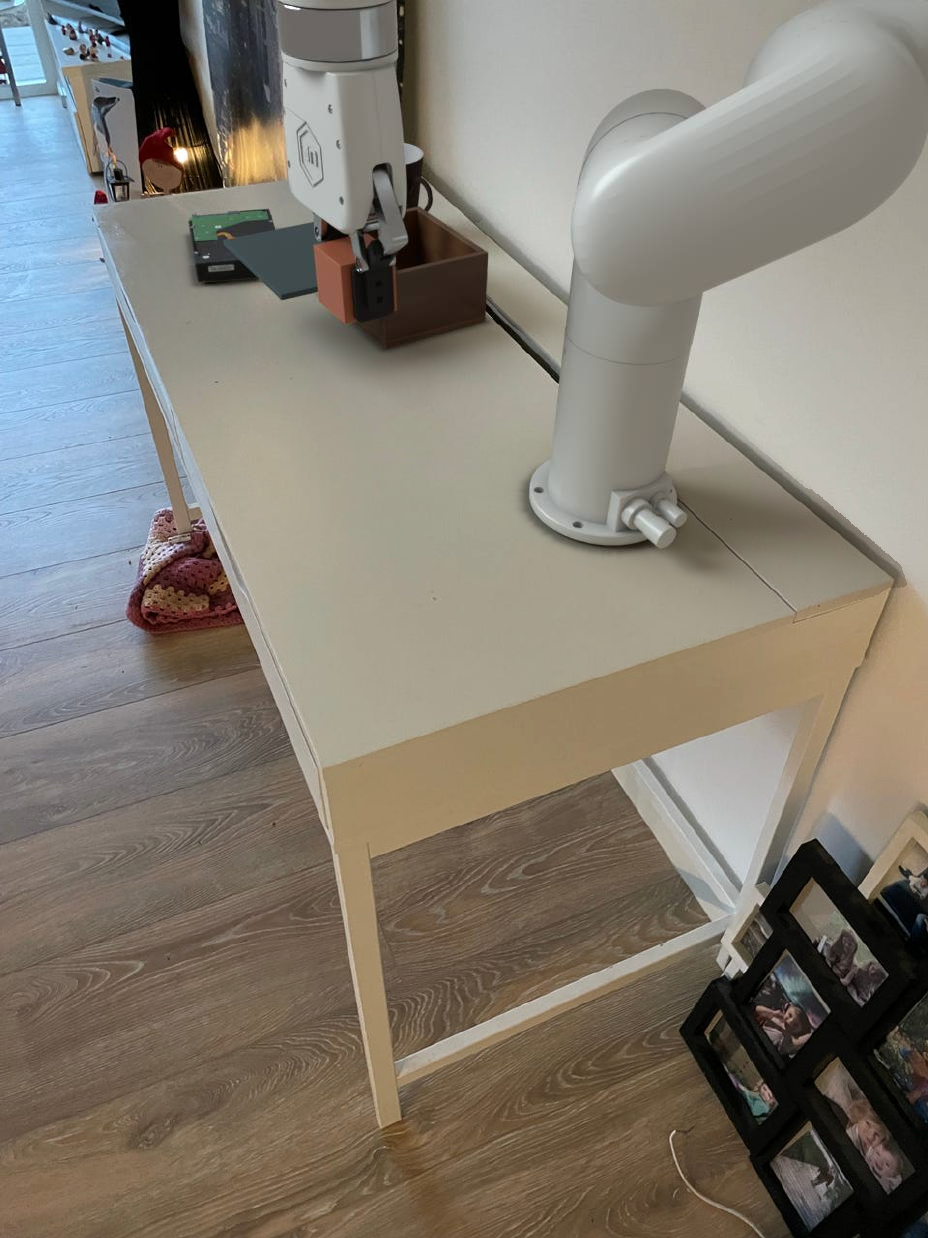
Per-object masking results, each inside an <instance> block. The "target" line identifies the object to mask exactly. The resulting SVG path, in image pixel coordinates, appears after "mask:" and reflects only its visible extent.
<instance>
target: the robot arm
mask: <svg viewBox="0 0 928 1238" xmlns="http://www.w3.org/2000/svg"><path fill="white" fill-rule="evenodd" d="M275 8H276V18H277V26H278V27H277V28H278V37H279V46H280V53H281V60H282V107H283V126H284V127H283V128H284V141H285V154H286V165H287V177H288V184H289V189H290V192H291V194H292V195H293V197H294V198H295V199H296V200H297V201H298V202H299V203H301V204H302V205H303V206H304V207H306V208H307V209H309V210H310V211H311V212H312V214H313V222H314V234H315V237H316V239H317V240H318V241H319V242H320V241H323V242H322V243H324V242H328V241H333V240H337V239H341V238H346V237H350V238H351V244H352V249H353V255H354V261H355V266H356V268H353V269H350V272H351V285H352V298H353V311H354V318H355V319H356V320H357V321H358V322H359V323H363V322H367V321H370V320H374V319H377V318H381V317H385V316H388V315H391V314H393V312H394V309H395V308H394V285H393V265H395V263H396V255H397V253H398V251H399V250H400V249H401V248H403V247H404V246H405V245H406V244H407V243H408V236H407V232H406V229H405V226H404V223H403V220H402V219H403V218H404V215H405V211H406V163H405V149H404V143H405V140H404V139H405V138H404V126H403V117H402V109H401V102H400V101H401V100H400V92H399V85H398V80H397V73H396V66H395V65H396V64H394V62H396V61H397V60H398V58H399V47H398V46H399V44H398V43H399V41H398V15H397V13H398V11H397V0H275ZM927 137H928V0H825V1H823V2H821V3H819V4H817V5H815V6H813V7H811V8H809V9H806V10H804V11H803V12H801V13H798V14H797V15H795V16H794V17H792V18H791V19H789V20H787V21H785V22H784V23H783V24H781V25H779V26H778V27H777V28H776V29H775V30H774V31H773V32H772V33H770V34H769V36H767V38H765V40H763V42H762V43H761V44H760V45H759V47H758V48H757V50H756V52H755V53H754V55H753V56H752V58H751V59H750V62H749V64H748V66H747V69H746V72H745V75H744V78H743V83H742V88H741V89H740V90H738V91H736V92H734V93H733V94H731V95H729V96H727V97H725V98H724V99H722V100H720V101H718V102H716V103H714V104H713V105H711V106H709V107H706V106H705V105H704V104H703V103H702V102H700V101H699V100H698V99H697V98H695V97H693V96H692V95H689V94H688V93H685V92H682V91H679V90H675V89H670V88H653V89H648V90H647V89H646V90H643V91H641V92H638V93H635V94H633V95H630V96H629V97H627V98H625V99H623V100H622V101H621V102H619V103H618V104H617V105H616V106H615V107H613V108H612V109H611V110H610V111H609V112H608V113H607V114H606V115H605V116H604V117H603V119H602V120H601V121H600V123H599V124H598V126H597V127H596V129H595V131H594V132H593V133H592V136H591V138H590V140H589V142H588V145H587V147H586V150H585V153H584V155H583V156H584V157H583V160H582V164H581V168H580V172H579V176H578V182H577V187H576V192H575V197H574V201H573V205H572V209H571V210H572V211H571V218H570V242H571V248H572V252H573V260H572V269H571V275H570V276H571V277H570V285H569V294H568V301H567V302H568V303H567V312H566V319H565V320H566V321H565V326H564V335H563V343H562V344H563V346H562V352H561V361H560V370H559V380H558V390H557V396H556V397H557V399H556V408H555V416H554V425H553V434H552V435H553V436H552V443H551V452H550V453H551V454H550V458H549V459H547V460H546V461H544V462H543V463H542V464H540V465H539V466H538V467H537V469H536V470H534V472H533V474H532V476H531V479H530V482H529V491H528V498H529V499H528V500H529V503H530V506H531V508H532V510H533V512H534V514H535V515H536V516H537V517H538V519H540V520H541V521H542V522H543V523H544V524H545V525H546V526H548V527H549V528H550V529H552V530H553V531H555V532H557V533H559V534H561V535H563V536H566V537H567V538H570V539H572V540H575V541H579V542H583V543H585V544H586V543H587V544H591V545H599V546H624V545H632V544H637V543H641V542H645V541H647V540H649V542H651V543H652V544H653V545H654V546H656V547H657V548H658V549H660V550H661V549H666V548H667V547H669V546H670V545H671V544H672V543H673V541H674V540H675V538H676V536H677V530H676V529H677V528H680V527H682V526H683V525H685V523H686V522H687V519H688V514H687V513H686V512H685V511H684V510H682V509H681V508H680V507H679V506H678V496H677V491H676V489H675V486H674V484H673V481H674V477H673V476H672V475H670V474H669V473H668V472H667V471H666V468H667V464H668V463H667V462H668V458H669V453H670V448H671V443H672V439H673V434H674V430H675V425H676V421H677V416H678V411H679V406H680V401H681V397H682V392H683V387H684V383H685V378H686V373H687V368H688V363H689V360H690V359H689V358H690V355H691V349H692V346H693V344H694V339H695V334H696V329H697V325H698V320H699V315H700V310H701V305H702V299H703V295H704V293H705V292H707V291H709V290H712V289H714V288H717V287H719V286H721V285H724V284H726V283H729V282H730V281H732V280H735V279H737V278H740V277H743V276H745V275H747V274H749V273H751V272H754V271H756V270H758V269H761V268H763V267H766V266H767V265H770V264H772V263H774V262H776V261H778V260H781V259H783V258H786V257H787V256H790V255H792V254H795V253H797V252H800V251H801V250H804V249H806V248H809V247H811V246H812V245H815V244H818V243H819V242H822V241H825V240H826V239H828V238H830V237H832V236H834V235H837V234H839V233H840V232H842V231H845V230H846V229H848V228H850V227H852V226H853V225H855V224H857V223H858V222H860V221H861V220H863V219H865V218H866V217H867V216H869V215H870V214H871V213H873V212H874V211H876V209H878V208H880V207H881V206H882V205H883V204H884V203H885V202H887V200H888V199H890V198H891V197H892V196H893V195H894V194H895V193H896V192H897V190H898V189H899V188H900V187H901V186H902V185H903V183H904V182H905V181H906V180H907V178H908V177H909V175H910V174H911V173H912V171H913V170H914V168H915V166H916V164H917V163H918V160H919V159H920V157H921V154H922V152H923V149H924V148H925V147H924V146H925V144H926V140H927ZM374 212H375V213H376V216H377V219H375V220H370V221H367V218H368V215H369V213H374ZM375 231H378V235H379V236H378V238H377V239H376V240H372V241H371V242H370V244H369V245H368V247H367V249H366V245H365V239H364V234H366V233H370V232H375ZM349 235H350V236H349ZM318 244H320V243H318ZM672 525H673V526H674V527H673V526H672Z"/></svg>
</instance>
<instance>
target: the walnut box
mask: <svg viewBox="0 0 928 1238" xmlns="http://www.w3.org/2000/svg"><path fill="white" fill-rule="evenodd" d="M424 209H425V208H423V207H422V206H420V205H418V207H413V208H409V209H406V211H405V215H404V218H403V219H402V220H403V223H404V226H405V229H406V232H407V236H408V243H407V244H406V245H405V246H404V247H403V248H401V249H400V250H399V251H398V253H397V255H396V263H395V267H396V268H397V274H396V295H397V311H394V312H393V314H391V315H388V316H385V317H381V318H377V319H374V320H370V321H367V322H363V323H359V322H358V321H357V322H356V323H357V324H358V325H359V326H360V327H361V328H362V329H363V330H365V332H367V333H368V334H369V335H370V336H371V337H373V338H374V339H375V341H377V342H378V343H379V344H380V345H381V346H382V347H384V348H385V349H390V348H393V347H396V346H401V345H404V344H408V343H412V342H416V341H419V340H423V339H427V338H430V337H434V336H437V335H441V334H442V335H443V334H445V333H448V332H453V331H456V330H460V329H464V328H467V327H471V326H475V325H479V324H482V323H486V318H487V317H486V316H487V315H486V314H487V295H488V293H487V292H488V275H489V274H488V273H489V252H488V251H487V250H485V249H483V248H482V247H481V246H480V245H478V244H476V243H475V242H473V241H472V240H471V239H469V238H467V237H466V236H465V235H463V234H461V233H460V232H458V231H457V230H455V229H454V228H452V227H451V226H449V225H448V224H446V223H445V222H443V221H442V220H440V219H439V218H438V217H436V216H435V215H433V214H431V213H430V212H429V211H428V212H427V211H425V210H424ZM375 219H377V216H376V215H374V216H369V217H368V218H367V221H370V220H375ZM367 234H369V235H370V236H371V237H373V238H374V239H377V238H378V236H379V235H378V231H375V232H370V233H367Z"/></svg>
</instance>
